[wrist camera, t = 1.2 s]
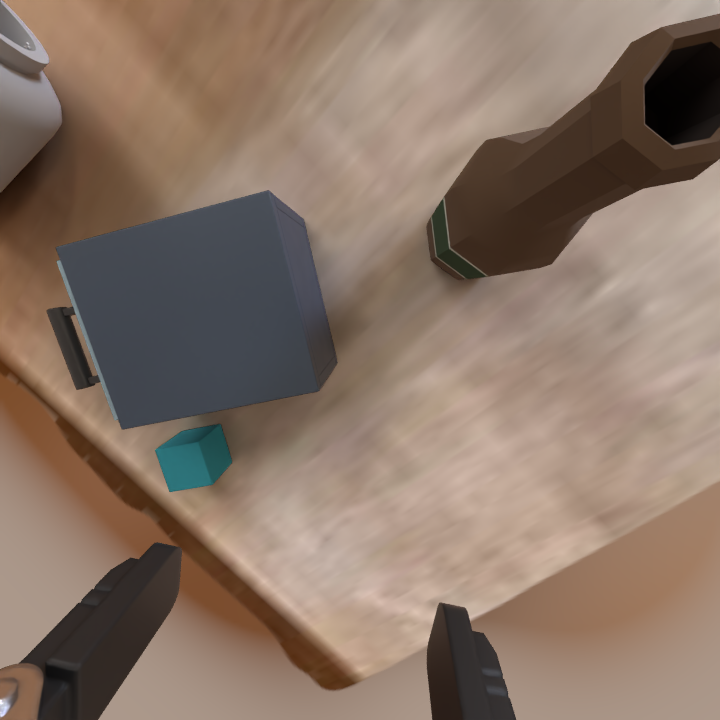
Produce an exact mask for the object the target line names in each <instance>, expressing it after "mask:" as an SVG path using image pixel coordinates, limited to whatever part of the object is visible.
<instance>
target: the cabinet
mask: <svg viewBox="0 0 720 720" xmlns="http://www.w3.org/2000/svg"><path fill="white" fill-rule="evenodd" d="M56 250H57V253H58V255H59V258H60V261H61V264H62V266H63V269H64V272H65V275H66V277H67V280H68V283H69V286H70V288H71V291H72V294H73V297H74V299H75V302H76V305H77V308H78V310H79V313H80V316H81V319H82V321H83V324H84V327H85V330H86V332H87V335H88V338H89V341H90V343H91V346H92V349H93V352H94V354H95V357H96V360H97V362H98V365H99V368H100V371H101V373H102V376H103V379H104V382H105V384H106V387H107V390H108V393H109V395H110V398H111V401H112V404H113V406H114V409H115V412H116V415H117V417H118V420H119V423H120V426H121V428H122V429H128V428H133V427H138V426H143V425H148V424H154V423H159V422H164V421H169V420H174V419H179V418H184V417H189V416H195V415H200V414H205V413H210V412H215V411H220V410H225V409H231V408H236V407H241V406H246V405H251V404H256V403H261V402H266V401H272V400H277V399H282V398H287V397H292V396H297V395H302V394H307V393H313V392H318V391H319V390H320V389H321V387H322V386H323V384H324V383H325V381H326V380H327V378H328V377H329V375H330V374H331V372H332V371H333V369H334V367H335V366H336V365H337V363H338V362H337V358H336V353H335V349H334V345H333V341H332V337H331V332H330V328H329V324H328V320H327V316H326V311H325V307H324V303H323V299H322V294H321V290H320V286H319V282H318V278H317V273H316V269H315V265H314V261H313V256H312V252H311V248H310V244H309V240H308V235H307V231H306V227H305V223H304V219H303V218H302V217H300V216H299V215H298V214H297V213H295V212H294V211H293V210H292V209H290V208H289V207H288V206H287V205H286V204H284V203H283V202H282V201H281V200H280V199H278V198H277V197H276V196H275V195H273V193H271V192H270V191H269V190H268V191H264V192H260V193H256V194H253V195H249V196H245V197H241V198H238V199H234V200H230V201H226V202H223V203H219V204H215V205H211V206H208V207H204V208H200V209H197V210H193V211H189V212H185V213H182V214H178V215H174V216H170V217H167V218H163V219H159V220H155V221H152V222H148V223H144V224H141V225H137V226H133V227H129V228H126V229H122V230H118V231H114V232H111V233H107V234H103V235H99V236H96V237H92V238H88V239H84V240H81V241H77V242H73V243H70V244H66V245H62V246H58V247H56Z"/></svg>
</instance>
